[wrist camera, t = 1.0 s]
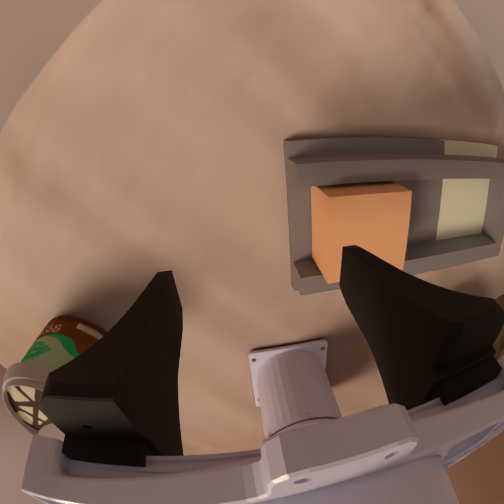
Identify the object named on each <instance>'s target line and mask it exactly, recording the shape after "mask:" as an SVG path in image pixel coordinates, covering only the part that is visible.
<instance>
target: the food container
mask: <svg viewBox="0 0 504 504" xmlns="http://www.w3.org/2000/svg"><path fill="white" fill-rule="evenodd" d="M105 334H106V332H105V331H104V330H102V329H101V328H100V327H98V326H96V325H94V324H92V323H90V322H88V321H86V320H84V319H81V318H77V317H73V316H59V317H57V318H54V319H52V320H51V321H50V322H49V323H48V324H47V325H46V327H45V328H44V329H43V331H42V332H41V334H40V335H39V336H38V338H37V339H36V341H35V342H34V343H33V345H32V346H31V348H30V349H29V351H28V352H27V353H26V355H25V356H24V358H23V359H22V361H21V362H20V363H16V364H13V365H11V366H10V367H9V368H8V369H7V371H6V374H5V379H4V382H3V388H2V390H3V396H2V397H3V402H4V404H5V406H6V408H7V410H8V411H9V413H10V414H11V415H12V417H13V418H14V419H15V420H16V421H17V422H18V423H19V424H20V425H21V426H22V427H23V428H24V429H26V430H27V431H28V432H30V433H31V434H32V435H38V433H39V430H40V429H41V428H42V427H44V426H45V425H47V424H51V423H52V422H51V421H50V420H49V419H48V418H47V417H46V415H45V414H44V413H43V412H42V410H41V408H40V406H39V401H40V398H41V395H42V392H43V389H44V386H45V383H46V380H47V377H48V374H49V373H50V372H52V371H54V370H56V369H57V368H59V367H61V366H63V365H64V364H66V363H68V362H69V361H71V360H73V359H74V358H76V357H77V356H79V355H80V354H81V353H83V352H84V351H86V350H87V349H88V348H90V347H91V346H92V345H93V344H94V343H96V342H97V341H98V340H99V339H100V338H102V337H103V336H104V335H105Z"/></svg>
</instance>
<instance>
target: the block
mask: <svg viewBox="0 0 504 504" xmlns="http://www.w3.org/2000/svg"><path fill="white" fill-rule="evenodd" d="M411 198H412V191H411V190H409V189H407V188H405V187H403V186H401V185H399V184H397V183H395V182H393V181H379V182H362V183H348V184H335V185H322V186H311V216H312V258H313V259H314V261H315V263H316V264H317V266H318V268H319V269H320V271H321V273H322V274H323V276H324V278H325V280H326V281H327V283H328V284H330V283H336V282H340V271H341V260H342V248H343V247H344V246H350V245H357V246H359V247H361V248H363V249H365V250H367V251H369V252H370V253H372V254H374V255H375V256H377V257H379V258H381V259H382V260H384V261H386V262H388V263H389V264H391V265H393V266H395V267H397V268H398V269H400V270H402V271H403V267H404V260H405V253H406V246H407V238H408V230H409V221H410V210H411Z"/></svg>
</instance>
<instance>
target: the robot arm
mask: <svg viewBox="0 0 504 504" xmlns="http://www.w3.org/2000/svg"><path fill="white" fill-rule="evenodd" d="M339 286H340V289H341V291H342V294H343V297H344V299H345V301H346V304H347V306H348V308H349V309H350V311H351V313H352V315H353V317H354V318H355V320H356V322H357V324H358V325H359V327H360V329H361V331H362V333H363V334H364V336H365V338H366V340H367V342H368V344H369V346H370V348H371V350H372V353H373V356H374V358H375V361H376V363H377V366H378V369H379V372H380V375H381V378H382V381H383V384H384V387H385V391H386V394H387V398H388V401H389V404H388V405H383V406H379V407H375V408H372V409H369V410H366V411H362V412H359V413H356V414H352V415H349V416H345V417H342V415H341V412H340V409H339V407H338V404H337V401H336V399H335V396H334V393H333V391H332V388H331V385H330V383H329V380H328V377H327V375H326V372H325V369H326V359H327V348H328V342H327V340H325V339H322V340H317V341H311V342H306V343H300V344H294V345H289V346H282V347H276V348H270V349H263V350H256V351H251V352H249V354H248V356H249V363H250V369H251V376H252V382H253V389H254V395H255V401H256V406H258V407H260V408H261V414H262V421H263V427H264V433H265V439H262V446H263V447H262V448H261V449H256V450H249V451H240V452H231V453H221V454H208V455H189V456H183V448H182V441H181V431H180V420H179V405H178V368H179V358H180V349H181V339H182V330H183V318H182V306H181V302H180V299H179V295H178V292H177V288H176V285H175V281H174V277H173V274H172V270H171V271H164V272H157V274H156V275H155V276H154V278H153V279H152V280H151V282H150V283H149V284H148V286H147V287H146V288H145V290H144V291H143V292H142V294H141V295H140V296H139V298H138V299H137V300H136V302H135V303H134V304H133V305H132V306H131V308H130V309H129V310H128V311H127V312H126V314H125V315H124V316H123V317H122V318H121V319H120V320H119V321H118V322H117V324H116V325H115V326H114V327H112V328H111V329H110V330H109V331H108V332H107V333H106V334H105V335H104V336H103V337H102V338H100V339H99V340H98V341H97V342H96V343H94V344H93V345H92V346H91V347H90V348H88V349H87V350H86V351H84V352H83V353H81V354H80V355H79V356H77V357H76V358H74V359H73V360H71V361H69V362H68V363H66V364H64V365H63V366H61V367H59V368H57V369H56V370H54V371H52V372H50V373H49V374H48V377H47V380H46V383H45V386H44V389H43V392H42V395H41V398H40V401H39V406H40V408H41V410H42V412H43V413H44V414H45V415H46V417H47V418H48V419H49V420H50V421H51V422H52V423H53V424H54V425H56V426H57V427H58V428H59V429H60V430H61V431H62V432H63V433H64V434H65V439H64V442H63V441H61V440H59V439H56V438H51V437H46V436H40V435H33V437H32V441H31V445H30V449H29V454H28V458H27V463H26V468H25V473H24V478H23V484H22V491H23V492H25V493H27V494H28V495H30V496H32V497H34V498H36V499H38V500H40V501H42V502H44V503H46V504H459V502H458V499H457V497H456V495H455V492H454V490H453V487H452V485H451V482H450V480H449V478H448V476H447V473H446V471H445V469H446V468H447V467H449V466H451V465H452V464H454V463H456V462H457V461H459V460H461V459H462V458H464V457H465V456H467V455H469V454H470V453H472V452H473V451H475V450H476V449H478V448H479V447H481V446H482V445H484V444H485V443H486V442H488V441H489V440H490V439H492V438H493V437H495V436H496V435H498V434H499V433H500V432H502V431H503V430H504V355H503V356H502V357H501V358H500V359H499V360H498V361H497V360H496V359H495V357H494V355H495V354H496V350H495V349H494V347H493V346H492V345H493V344H494V342H495V340H496V338H497V337H498V335H499V333H500V331H501V329H502V327H503V325H504V310H503V309H502V308H501V306H500V305H499V304H498V303H497V302H496V301H495V300H494V299H492V298H485V297H479V296H472V295H468V294H463V293H459V292H455V291H452V290H448V289H445V288H442V287H439V286H436V285H434V284H431V283H428V282H426V281H424V280H421V279H419V278H417V277H414V276H412V275H410V274H408V273H406V272H404V271H402V270H400V269H398V268H397V267H395V266H393V265H391V264H389V263H388V262H386V261H384V260H382V259H381V258H379V257H377V256H375V255H374V254H372V253H370V252H369V251H367V250H365V249H363V248H361V247H359V246H357V245H350V246H344V247H343V248H342V260H341V271H340V282H339ZM322 347H323V348H322Z"/></svg>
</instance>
